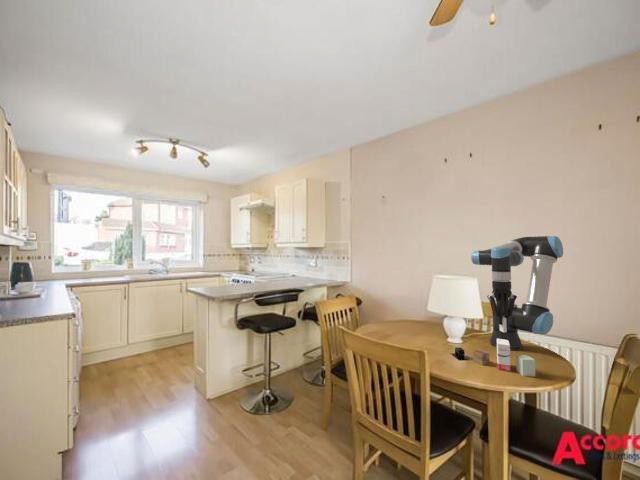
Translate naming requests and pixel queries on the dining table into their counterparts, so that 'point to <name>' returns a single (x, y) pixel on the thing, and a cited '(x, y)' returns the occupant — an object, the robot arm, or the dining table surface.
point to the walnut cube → (481, 357)
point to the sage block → (525, 365)
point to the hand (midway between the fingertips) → (503, 331)
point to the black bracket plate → (459, 354)
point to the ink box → (503, 355)
